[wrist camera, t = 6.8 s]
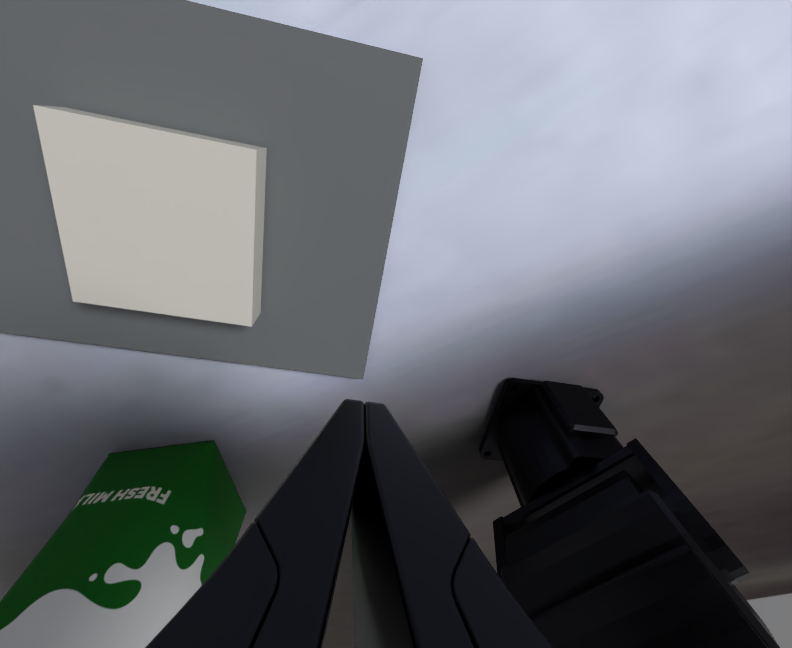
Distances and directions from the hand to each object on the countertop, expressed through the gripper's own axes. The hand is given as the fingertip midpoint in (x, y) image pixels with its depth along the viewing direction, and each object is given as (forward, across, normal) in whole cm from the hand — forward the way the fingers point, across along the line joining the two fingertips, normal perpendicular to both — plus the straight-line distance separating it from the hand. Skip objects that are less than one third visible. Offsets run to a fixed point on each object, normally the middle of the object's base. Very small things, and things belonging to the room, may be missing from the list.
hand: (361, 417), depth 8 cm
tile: (+11, +5, 0) cm, 12 cm away
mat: (+13, +9, 0) cm, 16 cm away
